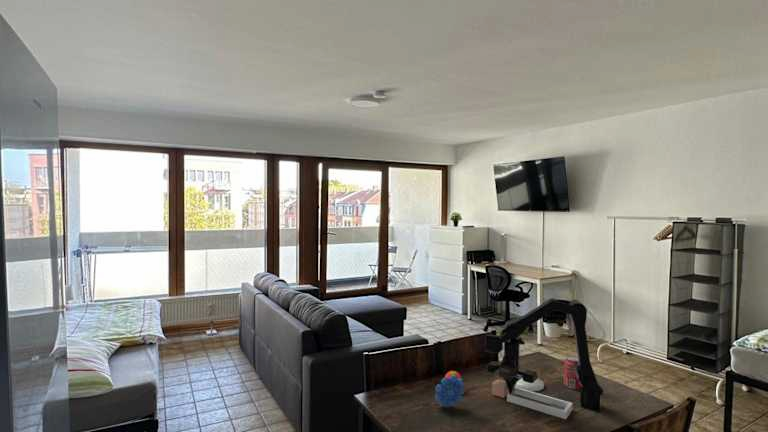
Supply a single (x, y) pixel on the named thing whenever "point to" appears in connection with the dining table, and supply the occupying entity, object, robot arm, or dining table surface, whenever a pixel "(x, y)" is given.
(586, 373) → the robot arm
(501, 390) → the block
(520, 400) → the channel
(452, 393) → the grapes
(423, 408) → the dining table surface
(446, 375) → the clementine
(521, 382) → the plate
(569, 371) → the soda can
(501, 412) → the dining table surface
